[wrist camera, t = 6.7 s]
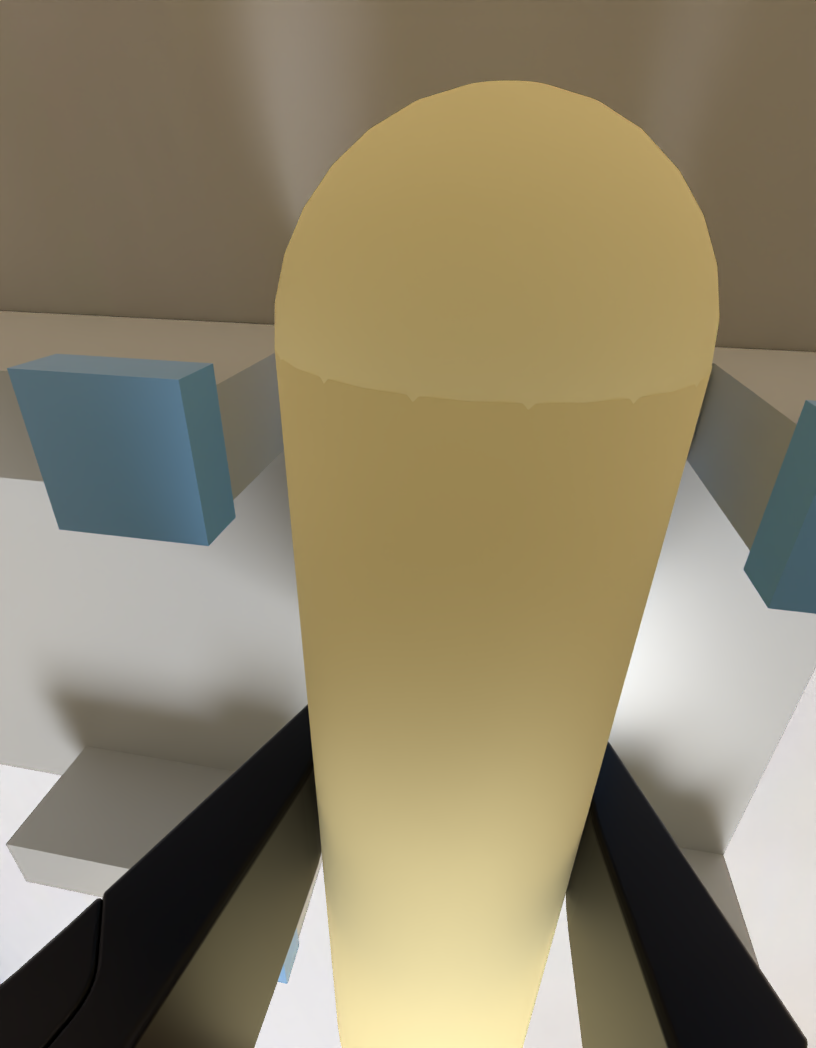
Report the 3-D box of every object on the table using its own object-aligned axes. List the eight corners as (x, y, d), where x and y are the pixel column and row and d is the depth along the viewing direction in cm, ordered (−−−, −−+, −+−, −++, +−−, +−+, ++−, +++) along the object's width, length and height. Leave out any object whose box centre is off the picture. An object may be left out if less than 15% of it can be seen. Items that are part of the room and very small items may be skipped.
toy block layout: (-116, 710, 15) (-300, 852, 11) (-378, 279, 10) (-841, 312, 6) (689, 847, 12) (754, 1089, 9) (911, 339, 7) (1276, 454, 4)
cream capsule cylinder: (514, 959, 12) (513, 1191, 9) (364, 927, 12) (318, 1140, 9) (701, 120, 5) (958, -16, 2) (335, 122, 5) (127, 11, 2)
